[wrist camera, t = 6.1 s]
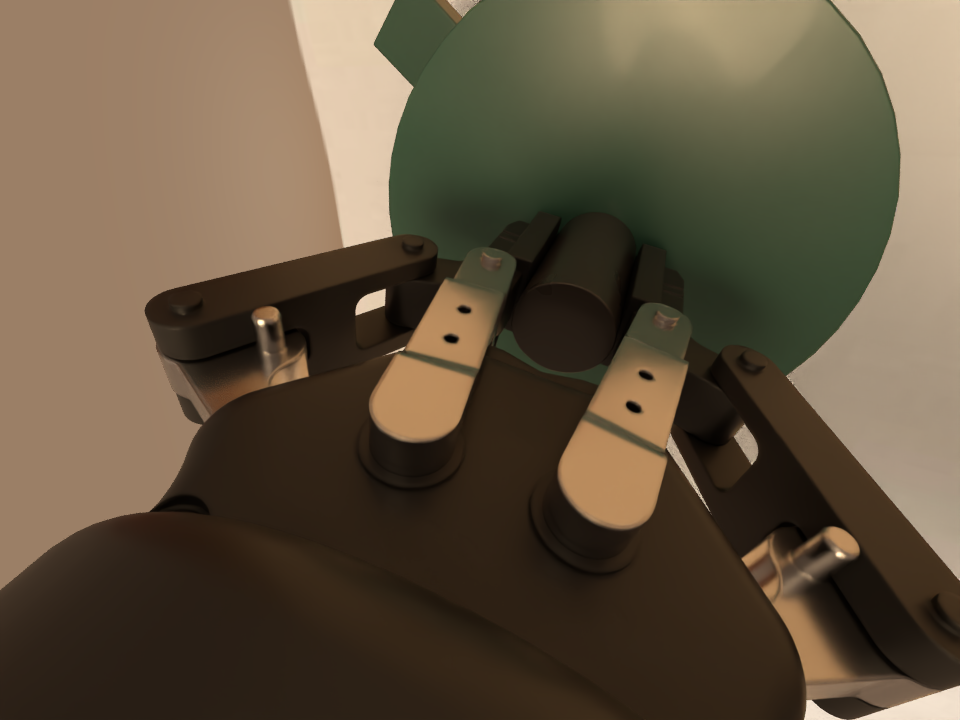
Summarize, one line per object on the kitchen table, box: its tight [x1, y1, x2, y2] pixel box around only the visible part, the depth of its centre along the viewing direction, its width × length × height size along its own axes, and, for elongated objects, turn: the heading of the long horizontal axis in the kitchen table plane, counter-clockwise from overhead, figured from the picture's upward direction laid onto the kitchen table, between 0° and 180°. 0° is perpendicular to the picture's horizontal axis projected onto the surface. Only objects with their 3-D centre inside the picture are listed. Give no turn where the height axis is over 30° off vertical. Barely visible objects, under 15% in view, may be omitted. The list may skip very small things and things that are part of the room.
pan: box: [374, 0, 462, 87], centre depth 18 cm, size 14×20×8 cm
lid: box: [389, 0, 901, 385], centre depth 13 cm, size 15×15×6 cm
